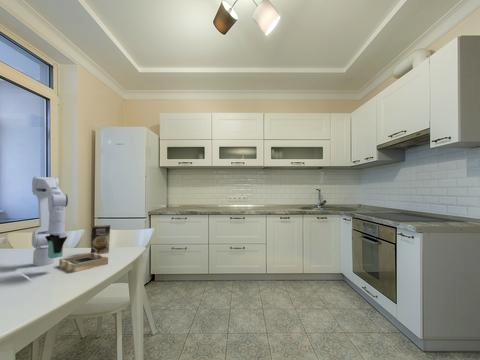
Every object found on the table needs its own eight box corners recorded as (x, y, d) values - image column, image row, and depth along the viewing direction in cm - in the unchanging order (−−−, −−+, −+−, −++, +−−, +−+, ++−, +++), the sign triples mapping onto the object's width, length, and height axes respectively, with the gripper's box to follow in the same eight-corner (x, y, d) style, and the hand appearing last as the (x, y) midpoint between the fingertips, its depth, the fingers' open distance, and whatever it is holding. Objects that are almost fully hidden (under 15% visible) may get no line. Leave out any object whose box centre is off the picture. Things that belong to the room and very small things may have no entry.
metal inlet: (70, 265, 112) (70, 260, 112) (89, 261, 119) (89, 256, 119) (78, 269, 108) (78, 263, 108) (97, 264, 115) (97, 259, 115)
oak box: (59, 267, 111) (59, 259, 111) (92, 260, 124) (93, 252, 124) (73, 274, 103) (73, 265, 103) (107, 265, 116) (108, 257, 116)
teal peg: (47, 257, 103) (48, 240, 104) (58, 255, 107) (59, 239, 107) (51, 258, 101) (52, 242, 101) (62, 256, 104) (63, 240, 105)
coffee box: (90, 256, 131) (91, 227, 132) (91, 253, 137) (92, 225, 138) (109, 254, 136) (110, 226, 136) (109, 251, 141) (110, 224, 142)
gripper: (39, 220, 105) (38, 251, 105) (52, 223, 97) (50, 256, 97) (58, 219, 111) (57, 248, 111) (71, 221, 103) (70, 253, 102)
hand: (55, 252), depth 104 cm, fingers closed on teal peg, 4 cm apart
